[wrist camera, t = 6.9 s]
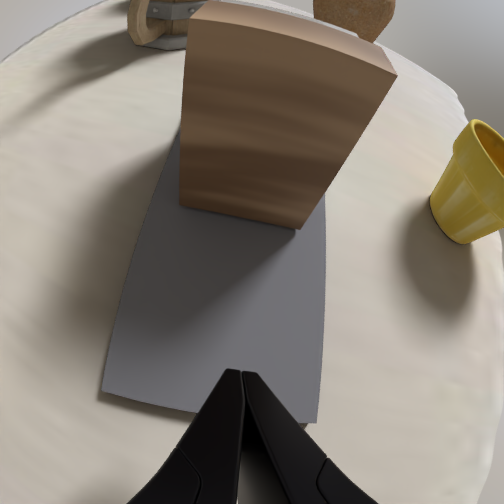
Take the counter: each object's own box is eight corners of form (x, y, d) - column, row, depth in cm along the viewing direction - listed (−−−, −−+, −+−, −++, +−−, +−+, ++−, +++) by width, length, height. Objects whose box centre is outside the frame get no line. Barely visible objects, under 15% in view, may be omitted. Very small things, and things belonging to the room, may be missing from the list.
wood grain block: (300, 230, 20) (397, 75, 9) (179, 205, 19) (189, 18, 8) (302, 113, 26) (349, 1, 15) (217, 93, 25) (241, -28, 14)
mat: (309, 422, 16) (316, 423, 15) (105, 390, 14) (101, 390, 13) (317, 129, 27) (320, 122, 26) (195, 102, 26) (196, 93, 25)
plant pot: (413, 161, 29) (462, 101, 20) (475, 204, 29) (525, 157, 20) (413, 232, 24) (485, 165, 15) (482, 276, 24) (551, 231, 15)
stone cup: (280, 58, 33) (312, -38, 20) (298, 35, 39) (324, -39, 26) (385, 103, 34) (436, 18, 21) (383, 72, 39) (420, 4, 26)
